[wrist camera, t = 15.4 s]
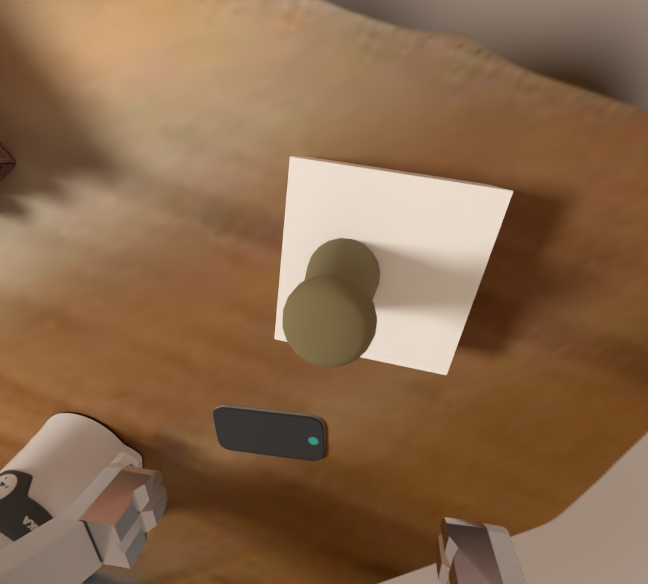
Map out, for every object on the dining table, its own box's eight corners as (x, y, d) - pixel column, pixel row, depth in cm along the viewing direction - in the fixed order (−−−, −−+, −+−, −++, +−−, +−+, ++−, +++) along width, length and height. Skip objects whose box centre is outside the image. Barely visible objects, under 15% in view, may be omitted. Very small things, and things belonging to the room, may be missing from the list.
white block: (436, 340, 34) (446, 375, 29) (290, 311, 36) (274, 339, 30) (487, 184, 28) (513, 190, 22) (307, 156, 29) (290, 156, 24)
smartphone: (324, 463, 43) (218, 449, 45) (325, 457, 43) (221, 444, 46) (323, 419, 40) (210, 406, 42) (324, 414, 40) (213, 402, 43)
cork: (379, 235, 25) (384, 273, 15) (381, 307, 27) (387, 386, 17) (303, 240, 26) (258, 279, 16) (310, 309, 28) (275, 385, 18)
